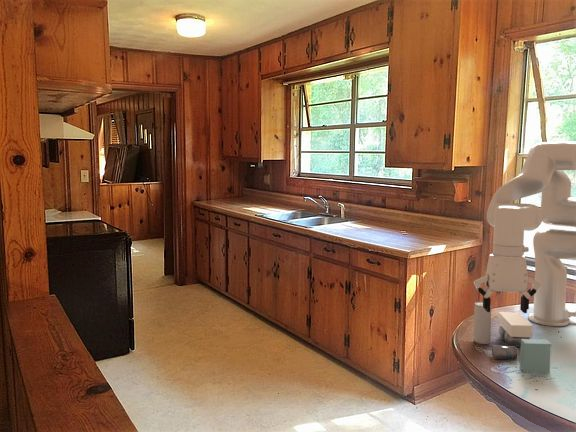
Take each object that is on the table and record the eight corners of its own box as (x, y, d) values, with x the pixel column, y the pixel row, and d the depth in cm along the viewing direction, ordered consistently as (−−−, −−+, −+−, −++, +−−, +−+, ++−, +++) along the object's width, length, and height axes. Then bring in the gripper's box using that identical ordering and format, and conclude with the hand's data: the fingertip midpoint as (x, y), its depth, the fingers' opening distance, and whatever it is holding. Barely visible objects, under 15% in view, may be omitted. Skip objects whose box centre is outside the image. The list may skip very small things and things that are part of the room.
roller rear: (518, 336, 152) (519, 324, 152) (523, 341, 148) (523, 329, 148) (498, 336, 153) (499, 324, 153) (502, 341, 149) (503, 328, 149)
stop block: (545, 368, 130) (546, 339, 129) (549, 373, 127) (550, 343, 126) (519, 367, 131) (521, 339, 130) (523, 372, 128) (525, 343, 127)
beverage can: (491, 345, 146) (492, 306, 145) (474, 344, 147) (475, 306, 146) (488, 339, 151) (489, 302, 149) (472, 338, 152) (473, 301, 150)
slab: (518, 323, 153) (518, 312, 152) (532, 337, 141) (532, 325, 141) (498, 322, 154) (498, 312, 153) (510, 336, 142) (511, 325, 141)
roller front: (525, 343, 147) (525, 330, 146) (529, 348, 143) (530, 335, 142) (504, 342, 148) (504, 330, 147) (508, 348, 144) (509, 335, 143)
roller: (513, 356, 138) (513, 344, 138) (517, 361, 135) (518, 349, 134) (491, 355, 139) (491, 343, 138) (495, 361, 135) (495, 349, 135)
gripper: (535, 248, 135) (533, 308, 137) (471, 248, 138) (469, 306, 140) (546, 253, 128) (543, 316, 130) (478, 253, 130) (476, 314, 132)
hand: (505, 311), depth 135 cm, fingers open, 9 cm apart
